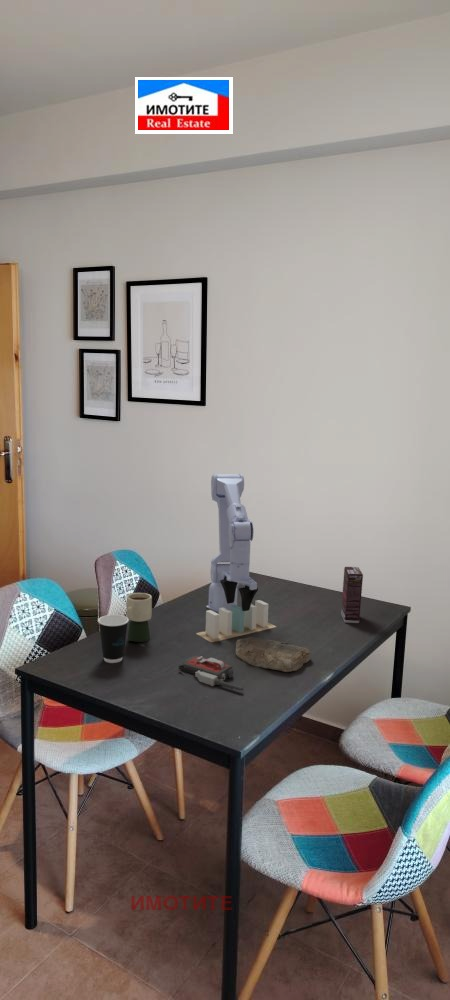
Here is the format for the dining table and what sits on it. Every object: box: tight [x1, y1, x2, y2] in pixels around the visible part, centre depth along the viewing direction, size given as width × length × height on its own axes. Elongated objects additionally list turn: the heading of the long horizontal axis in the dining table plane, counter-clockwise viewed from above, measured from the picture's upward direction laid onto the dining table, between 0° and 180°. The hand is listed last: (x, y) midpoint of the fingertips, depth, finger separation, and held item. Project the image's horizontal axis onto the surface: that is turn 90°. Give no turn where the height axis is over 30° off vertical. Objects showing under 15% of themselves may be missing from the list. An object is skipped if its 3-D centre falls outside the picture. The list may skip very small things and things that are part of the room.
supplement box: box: [340, 566, 364, 624], centre depth 221 cm, size 9×5×16 cm, turn 179°
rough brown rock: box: [235, 636, 312, 673], centre depth 189 cm, size 14×5×20 cm
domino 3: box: [244, 603, 257, 630], centre depth 209 cm, size 2×4×7 cm, turn 36°
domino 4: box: [254, 599, 270, 627], centre depth 212 cm, size 2×4×7 cm, turn 36°
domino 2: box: [218, 607, 232, 636], centre depth 204 cm, size 2×4×7 cm, turn 36°
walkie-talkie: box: [178, 655, 244, 692], centre depth 176 cm, size 9×4×20 cm
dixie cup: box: [97, 614, 130, 664], centre depth 184 cm, size 8×8×11 cm
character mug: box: [125, 592, 153, 643], centre depth 197 cm, size 11×7×13 cm, turn 154°
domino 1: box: [205, 609, 220, 639], centre depth 202 cm, size 2×4×7 cm, turn 36°
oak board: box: [195, 622, 277, 643], centre depth 207 cm, size 8×24×1 cm, turn 126°
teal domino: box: [231, 604, 245, 633], centre depth 207 cm, size 2×4×7 cm, turn 36°
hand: (237, 606), depth 206 cm, fingers open, 7 cm apart
